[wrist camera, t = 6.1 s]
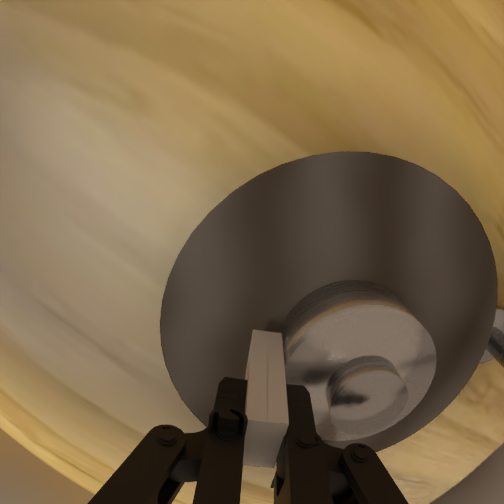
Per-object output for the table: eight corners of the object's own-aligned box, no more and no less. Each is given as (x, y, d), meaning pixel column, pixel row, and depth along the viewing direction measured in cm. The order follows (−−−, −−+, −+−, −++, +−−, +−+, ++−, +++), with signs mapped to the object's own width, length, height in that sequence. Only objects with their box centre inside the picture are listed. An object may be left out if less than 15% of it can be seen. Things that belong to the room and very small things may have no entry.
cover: (268, 394, 19) (268, 462, 13) (285, 273, 17) (294, 324, 11) (387, 395, 18) (414, 454, 13) (422, 284, 16) (473, 328, 11)
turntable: (168, 429, 22) (145, 494, 16) (186, 126, 17) (140, 104, 10) (417, 443, 22) (441, 499, 16) (511, 198, 17) (581, 216, 10)
